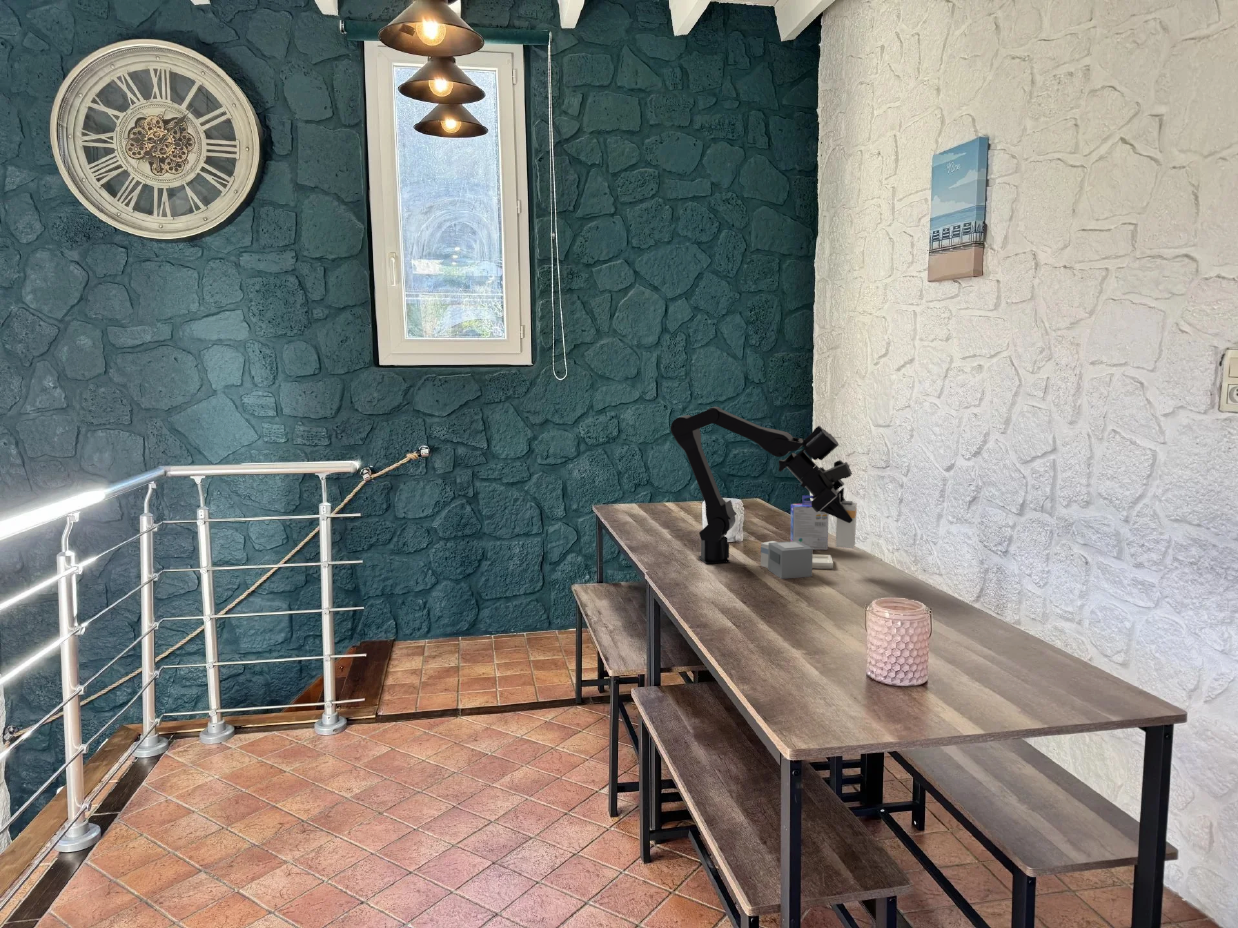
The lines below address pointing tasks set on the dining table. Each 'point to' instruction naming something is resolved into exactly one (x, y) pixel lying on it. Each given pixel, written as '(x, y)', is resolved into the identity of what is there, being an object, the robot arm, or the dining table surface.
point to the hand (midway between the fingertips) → (852, 519)
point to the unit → (790, 559)
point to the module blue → (765, 553)
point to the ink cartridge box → (809, 525)
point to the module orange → (846, 527)
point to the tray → (822, 561)
